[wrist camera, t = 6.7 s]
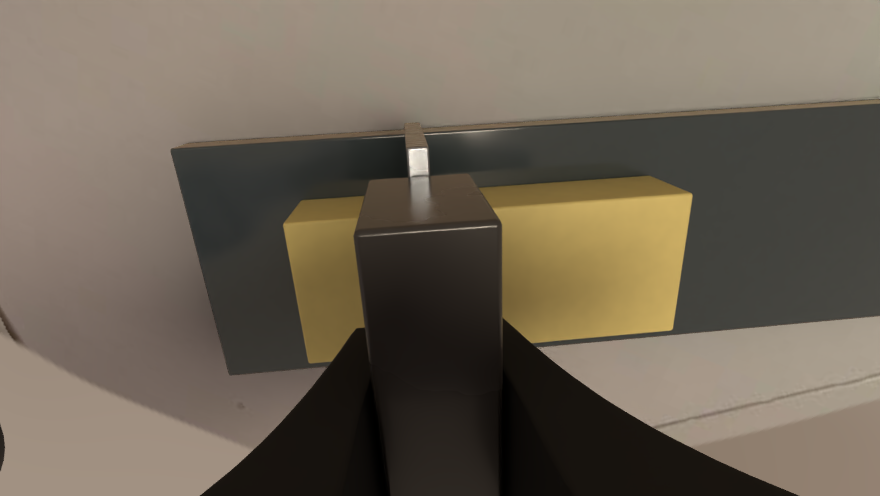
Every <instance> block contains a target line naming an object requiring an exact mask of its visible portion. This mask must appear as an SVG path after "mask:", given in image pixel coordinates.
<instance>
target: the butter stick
mask: <svg viewBox="0 0 880 496" xmlns="http://www.w3.org/2000/svg"><path fill="white" fill-rule="evenodd" d="M479 189H480V191H481V192H482V194H483V195H484V197H485V198H486V200H487V201H488V203H489V204H490V206H491V207H492V209H493V210H494V212H495V213H496V215H497V216H498V218H499V219H500V221H501V223H502V317H503V318H504V319H505V320H506V321H507V322H508V323H509V324H511V325H512V326H513V327H514V328H515V329H516V330H517V331H518V332H520V333H521V334H522V335H523V336H524V337H525V338H526V339H527V340H528V341H530V342H531V343H539V342H550V341H561V340H572V339H583V338H594V337H605V336H616V335H627V334H638V333H649V332H660V331H671V330H672V329H673V324H674V317H675V310H676V304H677V297H678V290H679V284H680V277H681V270H682V264H683V257H684V250H685V244H686V237H687V230H688V224H689V217H690V210H691V204H692V197H693V196H692V193H690V192H687V191H685V190H682V189H680V188H678V187H675V186H673V185H671V184H668V183H666V182H663V181H661V180H659V179H656V178H654V177H651V176H638V177H624V178H610V179H596V180H582V181H568V182H553V183H539V184H525V185H511V186H497V187H483V188H479Z"/></svg>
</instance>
